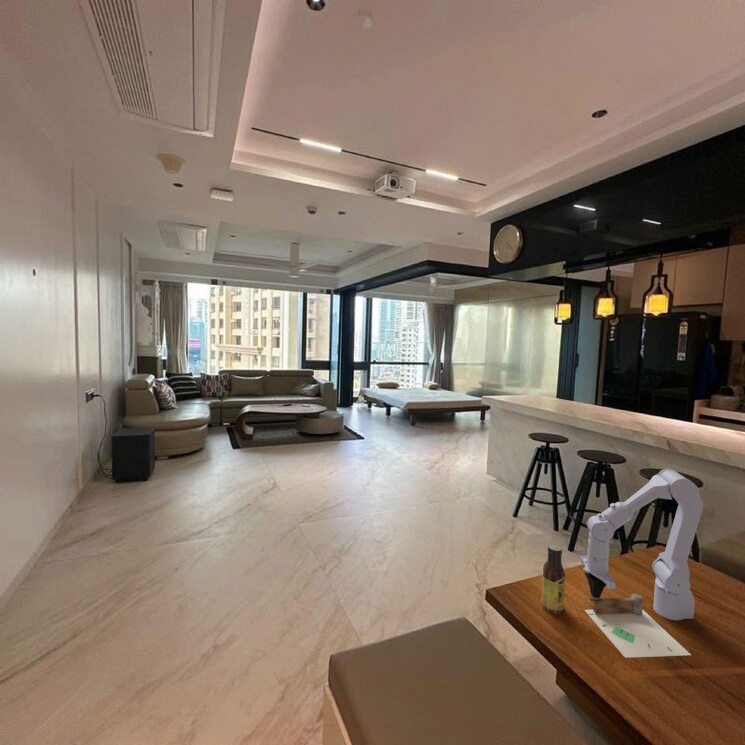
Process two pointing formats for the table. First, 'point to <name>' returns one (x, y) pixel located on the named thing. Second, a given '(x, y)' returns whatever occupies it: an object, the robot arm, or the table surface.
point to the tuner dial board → (637, 635)
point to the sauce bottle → (553, 581)
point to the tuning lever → (619, 605)
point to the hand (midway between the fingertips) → (595, 596)
